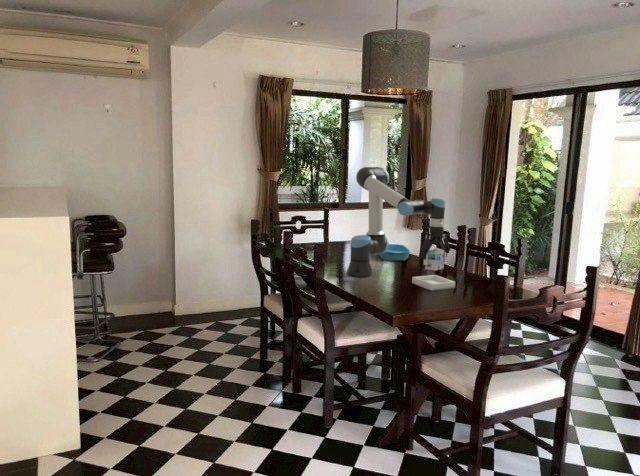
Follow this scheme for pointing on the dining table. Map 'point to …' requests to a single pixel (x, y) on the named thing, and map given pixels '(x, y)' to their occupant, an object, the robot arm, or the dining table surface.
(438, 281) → the tray
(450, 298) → the dining table surface
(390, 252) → the casserole dish
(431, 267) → the light bulb box
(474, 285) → the dining table surface
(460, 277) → the dining table surface
